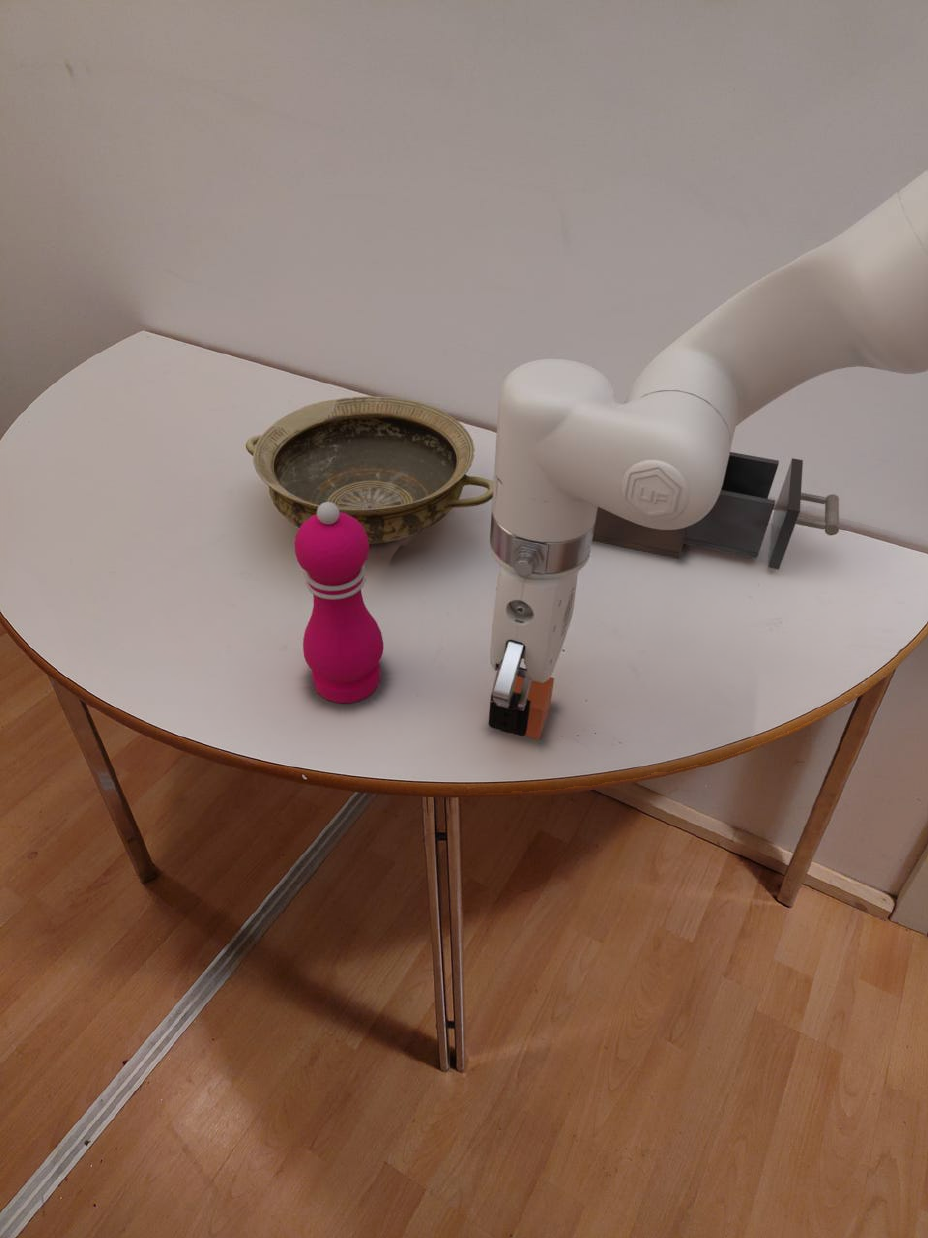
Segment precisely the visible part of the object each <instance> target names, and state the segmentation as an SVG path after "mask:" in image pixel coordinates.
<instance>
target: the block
mask: <svg viewBox="0 0 928 1238" xmlns="http://www.w3.org/2000/svg"><path fill="white" fill-rule="evenodd" d="M523 680H524V678H523V677H520V676H517V678H516V681H515V685H514V692H517V693H521V688H522V684H523ZM554 681H555V678H554V677H552V676H551V677H550V678H549V679H548V680H547V681H546V682H544V683H540V682H536V681H532V682H531V686H530V690H529V694H528V700H529V701H531V704H530V711H529V719H528V727H527V732H526V734H525V736H524V737H528V738H532V739H535V740H540V738H541V736H542V733H543V729H544V727H545V724H546V721H547V718H548V715H549V712H550V709H551V705H552V704H551V703H552V695H553V689H554Z"/></svg>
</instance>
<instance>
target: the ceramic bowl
mask: <svg viewBox="0 0 928 1238" xmlns="http://www.w3.org/2000/svg"><path fill="white" fill-rule="evenodd" d="M245 449H246V451H247V452H248V453H249V455H251V456H252V461H253V466H254V469H255V471H256V474H257V475H258V477H259V478H260V479H261V481H262V482H263V483H265V485H267V486H268V492H269V495H270V498H271V500H272V503H273V505H274V506H275V508H276V509H277V510H278V512H279V513H280V514H281V515H282V516H283V517H284V518H285V519H287V521H289V523H291V524H292V525H294V526H295V527H297V528H298V529H299V528H300V527H301V525H302V524H303V523H304V522H305V521H306V520H307V519H309V518H310V517H312V516H314V515H316V514H317V509H318V507H319V506H320V505H321V504H322V503H325V502H331V503H334V504H335V505H336V506H337V507H338V509H339V512H342V513H345V514H348V515H350V516H352V517H353V518H355V519H356V520H358V522H359V523H360V524H361V525H362V526H363V528H364V530H365V531H366V533H367V537H368V541H369V545H370V544H381V543H388V542H389V543H390V542H392V541H397V540H402V539H405V538H409V537H411V536H415V535H417V534H419V533H422V532H423V531H425V530H427V529H429V528H432V527H433V526H435V525H436V524H437V523H439V522H440V521H441V520H443V519H444V518H445V517H446V516H447V515H449V513H450V512H451V511H452V510H453V509H457V508H469V507H470V508H471V507H477V506H480V505H484V504H486V503H488V502H489V501H491V500H493V485H494V480H491V479H488V478H485V477H480V476H470V475H467V473H468V472H469V469H471V467H472V465H473V462H474V457H475V445H474V441H473V438H472V436H471V435H470V433H469V431H468V430H467V429H466V427H464V425H463V423H460V421H458V420H457V419H455V418H454V417H452V416H451V415H450V414H449V413H447V412H445V411H443V410H440V409H439V408H437V407H435V406H434V407H433V406H431V405H429V404H427V403H426V404H425V403H423V402H418V401H415V400H411V399H405V398H401V397H400V398H398V397H391V396H390V397H389V396H373V395H372V396H371V395H370V396H368V395H367V396H352V397H341V398H336V399H335V398H334V399H328V400H323V401H322V400H321V401H319V402H315V403H312V404H308V405H306V406H302V407H301V408H298V409H297V410H294V411H292V412H290V413H288V414H287V415H284V416H283V417H282V418H280V419H278V420H277V421H275V422H274V423H273V424H272V425H270V426H269V427H268V428H267V429H266V430H265V431H264V432H263V433H262V434H258V435H254V436H252V437H250V438H249V439H248V440H247V441H246V442H245ZM465 486H475V487H483V488H486V489H487V492H485V493H484V494H482V495H479V496H476V497H470V498H465V499H464V498H462V499H461V495H462V492H463V489H464V487H465Z"/></svg>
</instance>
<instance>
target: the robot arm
mask: <svg viewBox="0 0 928 1238" xmlns="http://www.w3.org/2000/svg"><path fill="white" fill-rule="evenodd" d="M856 367H859V368H862V367H863V368H870V369H877V370H881V371H886V372H891V373H897V374H902V375H903V374H904V375H915V374H920V373H925V372H927V371H928V169H926V170H925V171H923V172H922V173H921V174H919V175H918V176H916V178H914V179H913V180H912V181H910V182H909V183H908V184H906V185H905V186H903V187H902V188H901V189H900V190H898V191H897V192H896V193H894V194H893V195H891V196H890V197H889V198H888V199H886V200H885V201H883V202H882V203H881V204H879V205H878V206H877V207H875V208H874V209H872V210H871V211H870V212H869V213H868V214H865V216H863V217H861V218H860V219H859V220H858V221H856V222H855V223H854V224H852V225H851V226H850V227H848V228H846V229H845V230H844V231H843V232H841V233H840V234H838V235H836V236H835V237H833V238H831V240H829V241H826V242H825V243H823V244H821V245H820V246H817V247H815V248H813V249H811V250H809V251H807V252H805V253H804V254H802V255H800V256H799V257H797V258H796V259H794V260H792V261H790V262H789V263H787V264H785V265H783V266H781V267H780V268H778V269H776V270H773V271H772V272H770V273H768V274H766V275H764V276H763V277H761V278H759V279H758V280H756V281H754V282H752V283H751V284H749V285H748V286H746V287H745V288H743V289H742V290H740V291H739V292H737V293H736V294H734V295H733V296H731V297H730V298H729V299H727V300H726V301H725V302H723V303H721V304H720V305H719V306H717V308H716V309H714V310H713V311H711V312H710V313H709V314H708V315H706V316H704V317H703V318H702V319H701V320H700V321H698V322H697V323H696V324H695V325H693V326H692V327H691V328H690V329H688V330H687V331H686V332H684V333H683V334H681V335H680V336H679V337H678V338H677V339H675V340H674V341H673V342H672V343H671V344H669V345H668V346H667V347H666V348H664V349H663V350H662V351H661V352H660V353H658V354H657V355H656V356H655V357H654V358H652V360H651V361H650V362H649V363H648V364H647V365H646V366H645V367H644V369H643V370H642V371H641V372H640V374H639V375H638V376H637V378H636V379H635V381H634V383H633V384H632V386H631V388H630V390H629V392H628V394H627V396H626V399H625V401H624V403H619V402H618V401H617V399H616V396H615V391H614V389H613V386H612V383H611V382H610V381H609V379H608V378H607V377H606V376H605V375H604V374H603V373H602V372H601V371H599V370H598V369H597V368H594V367H593V366H591V365H589V364H585V363H583V362H580V361H576V360H572V359H565V358H541V359H535V360H531V361H529V362H525V363H523V364H520V365H519V366H517V367H515V368H514V369H513V370H512V371H510V373H508V374H507V376H506V377H505V379H504V380H503V382H502V385H501V388H500V391H499V397H498V407H497V420H496V421H497V422H496V437H495V438H496V439H495V453H494V469H493V470H494V471H493V482H494V485H493V498H492V504H491V505H492V506H491V515H490V516H491V517H490V533H489V552H490V554H491V556H492V557H493V559H494V561H496V563H497V564H498V565H499V570H498V577H497V583H496V584H497V585H496V587H495V591H496V592H495V600H494V601H495V602H494V608H493V616H492V625H491V635H490V648H489V649H490V653H489V654H490V656H489V657H490V659H489V660H490V665H491V667H492V669H493V670H494V671H495V672H496V674H495V677H494V683H493V686H492V691H491V694H490V701H489V714H488V726H489V728H491V729H495V730H497V731H500V732H502V733H507V734H512V735H516V736H519V737H526V736H525V734H526V732H527V727H528V719H529V711H530V704H531V701H529V700H528V694H529V690H530V686H531V682H532V681H536V682H540V683H544V682H546V681H547V680H548V679H549V678H550V677H552V675H553V672H554V670H555V667H556V665H557V662H558V659H559V657H560V653H561V651H562V648H563V646H564V642H565V640H566V636H567V634H568V632H569V628H570V626H571V622H572V618H573V615H574V609H575V601H576V595H577V584H578V574H579V571H580V570H581V569H583V568H584V567H585V566H586V564H587V563H588V561H589V559H590V555H591V551H592V546H593V540H592V539H593V534H594V528H595V522H596V515H597V509H598V507H600V508H602V509H604V510H606V511H609V512H611V513H613V514H615V515H617V516H619V517H621V518H623V519H626V520H628V521H631V522H633V523H636V524H639V525H642V526H645V527H649V528H654V529H660V530H676V529H681V528H685V527H688V526H690V525H693V524H695V523H696V522H698V521H700V520H701V519H702V518H703V517H704V516H706V515H707V514H708V513H709V511H710V510H711V509H712V508H713V506H714V505H715V503H716V501H717V499H718V497H719V494H720V491H721V488H722V485H723V481H724V477H725V472H726V468H727V463H728V459H729V454H730V452H731V450H732V444H733V440H734V436H735V432H736V428H737V426H738V425H740V424H741V423H743V422H744V421H745V420H747V419H748V418H749V417H751V416H753V415H754V414H755V413H757V412H758V411H760V410H761V409H763V408H764V407H766V406H768V405H769V404H770V403H772V402H773V401H775V400H777V399H778V398H779V397H782V396H783V395H785V394H786V393H788V392H790V391H791V390H793V389H794V388H796V387H798V386H800V385H802V384H804V383H806V382H808V381H810V380H812V379H815V378H817V377H819V376H821V375H824V374H827V373H831V372H833V371H835V370H836V371H837V370H841V369H846V368H856ZM522 661H523V664H524V666H525V667H521V663H522ZM517 676H520V677H523V678H524V680H523V684H522V688H521V693H517V692H514V685H515V681H516V678H517Z"/></svg>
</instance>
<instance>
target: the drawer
mask: <svg viewBox="0 0 928 1238" xmlns="http://www.w3.org/2000/svg"><path fill="white" fill-rule="evenodd" d="M779 464H780V460H777V459H773V458H768V457H767V458H766V457H761V456H756V455H750V454H745V453H738V452H734V451H730V454H729V459H728V463H727V468H726V472H725V477H724V481H723V485H722V488H721V491H720V494H719V497H718V499H717V501H716V503H715V505H714V506H713V508H712V509H711V510H710V511H709V513H708V514H707V515H706V516H704V517H703V518H702V519H701V520H700V521H698V522H696V523H695V524H693V525H690V526H688V527H687V530H686V534H685V538H684V542H683V545H689V546H693V547H698V548H703V549H707V550H712V551H716V552H717V551H718V552H722V553H727V554H732V555H737V556H741V557H745V558H752V559H755V560H756V559H758V556H759V553H760V550H761V547H762V545H763V541H764V539H765V538H764V537H765V535H766V531H767V529H768V525H769V524H770V523H769V522H770V520H771V517H772V520H771V528H770V529H771V531H770V538H769V539H770V540H769V549H768V562H767V568H769V569H774V570H780V567H781V565H782V563H783V560H784V557H785V554H786V551H787V548H788V545H789V543H790V540H791V538H792V535H793V532H794V529H795V526H796V525H799V526H803V527H808V528H812V529H819V530H824V534H826V535H828V536H836V535H838V533H839V532H840V497H839V496H838V495H837V494H829V495H827V496H821V495H816V494H811V493H806V492H802V484H803V466H804V460H803V459H799V458H793V457H792V458H791V460H790V463H789V466H788V468H787V472H786V475H785V478H784V480H783V483H782V486H781V489H780V492H779V495H778V499H777V501H776V500H775V499H770V498H769V495H770V492H771V490H772V486H773V483H774V480H775V477H776V474H777V471H778V468H779ZM801 501H805V502H810V503H815V504H821V505H824V521H819V520H814V519H810V518H804V517H799V515H800V512H801V503H802V502H801ZM775 504H776V505H775ZM772 513H773V514H772Z"/></svg>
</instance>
